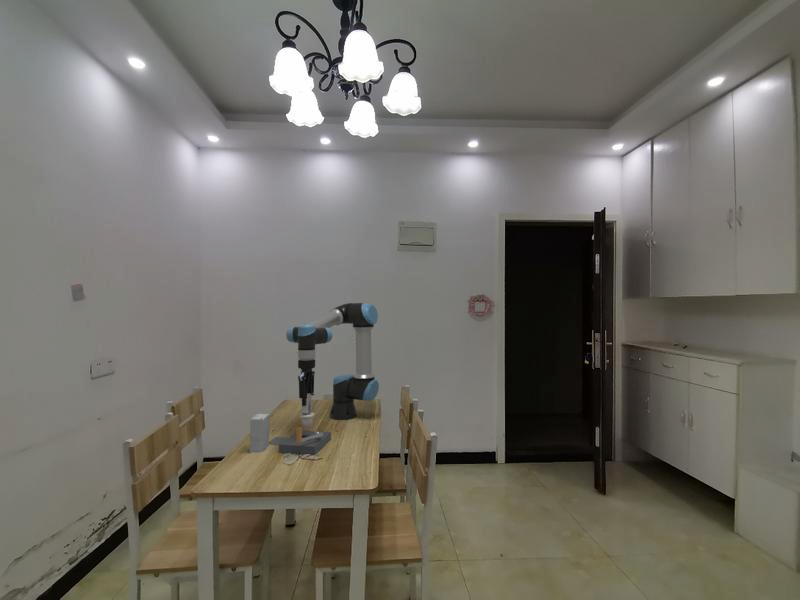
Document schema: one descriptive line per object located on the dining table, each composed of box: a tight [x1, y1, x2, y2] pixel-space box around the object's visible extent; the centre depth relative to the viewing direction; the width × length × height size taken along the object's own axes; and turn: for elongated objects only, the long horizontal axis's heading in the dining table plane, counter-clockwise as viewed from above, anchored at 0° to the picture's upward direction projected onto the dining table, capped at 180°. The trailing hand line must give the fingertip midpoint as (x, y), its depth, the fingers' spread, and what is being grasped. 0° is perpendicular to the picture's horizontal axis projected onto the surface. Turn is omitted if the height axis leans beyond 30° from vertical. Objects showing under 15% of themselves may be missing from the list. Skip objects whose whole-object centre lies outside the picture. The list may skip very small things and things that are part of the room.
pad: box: [269, 436, 288, 446], centre depth 183 cm, size 10×10×1 cm
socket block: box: [278, 429, 332, 456], centre depth 177 cm, size 20×16×6 cm
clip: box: [295, 426, 323, 443], centre depth 171 cm, size 5×14×6 cm, turn 138°
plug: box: [298, 393, 316, 428], centre depth 177 cm, size 7×7×14 cm
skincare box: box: [249, 413, 270, 454], centre depth 173 cm, size 8×6×15 cm
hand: (306, 411), depth 177 cm, fingers closed on plug, 3 cm apart
